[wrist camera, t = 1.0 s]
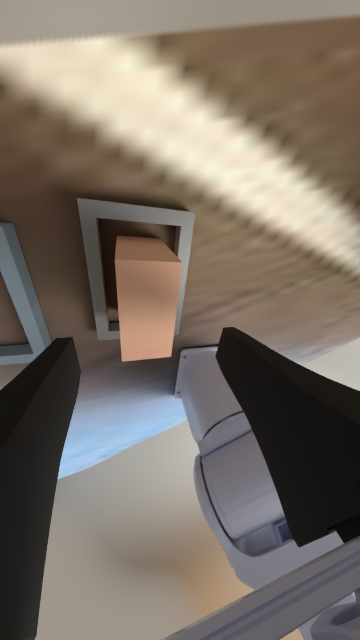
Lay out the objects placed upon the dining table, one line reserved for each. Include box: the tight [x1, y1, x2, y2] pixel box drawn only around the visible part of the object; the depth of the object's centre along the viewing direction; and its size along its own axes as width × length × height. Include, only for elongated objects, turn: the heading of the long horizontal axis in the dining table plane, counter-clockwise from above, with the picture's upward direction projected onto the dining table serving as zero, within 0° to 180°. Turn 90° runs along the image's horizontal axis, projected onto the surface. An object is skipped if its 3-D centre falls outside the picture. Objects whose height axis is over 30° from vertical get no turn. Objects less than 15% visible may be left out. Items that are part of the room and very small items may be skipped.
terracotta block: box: [115, 235, 182, 362], centre depth 14 cm, size 7×4×7 cm, turn 173°
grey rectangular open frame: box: [77, 198, 195, 341], centre depth 17 cm, size 12×8×2 cm
